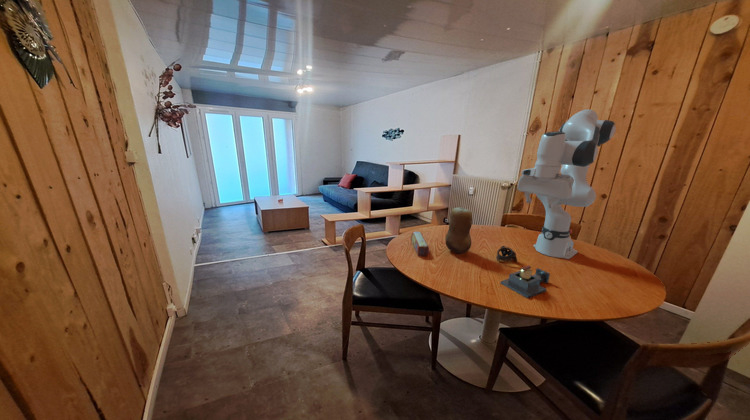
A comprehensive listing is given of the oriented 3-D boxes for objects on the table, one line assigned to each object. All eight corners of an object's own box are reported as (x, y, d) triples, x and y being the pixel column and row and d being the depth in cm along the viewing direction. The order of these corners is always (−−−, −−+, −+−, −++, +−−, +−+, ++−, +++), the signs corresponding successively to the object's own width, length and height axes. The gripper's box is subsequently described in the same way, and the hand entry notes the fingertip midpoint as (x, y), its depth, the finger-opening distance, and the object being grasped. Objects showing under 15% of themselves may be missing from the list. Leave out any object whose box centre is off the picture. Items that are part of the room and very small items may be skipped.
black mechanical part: (521, 266, 123) (518, 254, 119) (502, 271, 125) (498, 260, 121) (511, 250, 133) (508, 239, 129) (493, 256, 135) (489, 245, 132)
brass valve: (521, 281, 105) (525, 264, 103) (530, 286, 102) (534, 268, 100) (514, 284, 103) (518, 266, 101) (524, 289, 100) (527, 270, 98)
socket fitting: (528, 273, 114) (530, 264, 113) (556, 287, 104) (558, 276, 102) (500, 283, 106) (502, 272, 104) (527, 298, 95) (530, 287, 94)
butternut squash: (472, 250, 138) (478, 207, 131) (466, 259, 127) (473, 213, 120) (447, 245, 145) (452, 204, 138) (440, 253, 134) (445, 209, 127)
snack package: (429, 257, 129) (430, 245, 128) (416, 256, 129) (417, 245, 128) (421, 241, 150) (422, 231, 148) (410, 241, 150) (411, 231, 148)
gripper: (579, 175, 93) (571, 210, 97) (526, 170, 111) (521, 199, 114) (570, 176, 90) (562, 212, 94) (518, 170, 108) (512, 200, 112)
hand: (539, 205), depth 104 cm, fingers open, 8 cm apart
